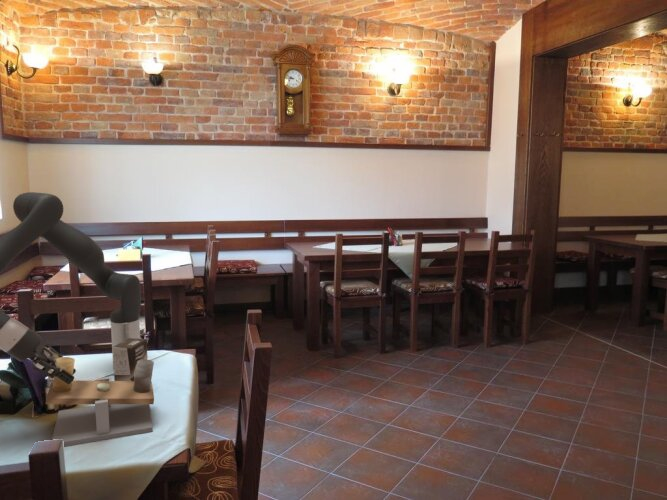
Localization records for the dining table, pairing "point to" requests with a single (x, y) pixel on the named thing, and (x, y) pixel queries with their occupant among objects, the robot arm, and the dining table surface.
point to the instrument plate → (102, 387)
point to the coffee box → (128, 358)
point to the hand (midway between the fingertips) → (72, 377)
